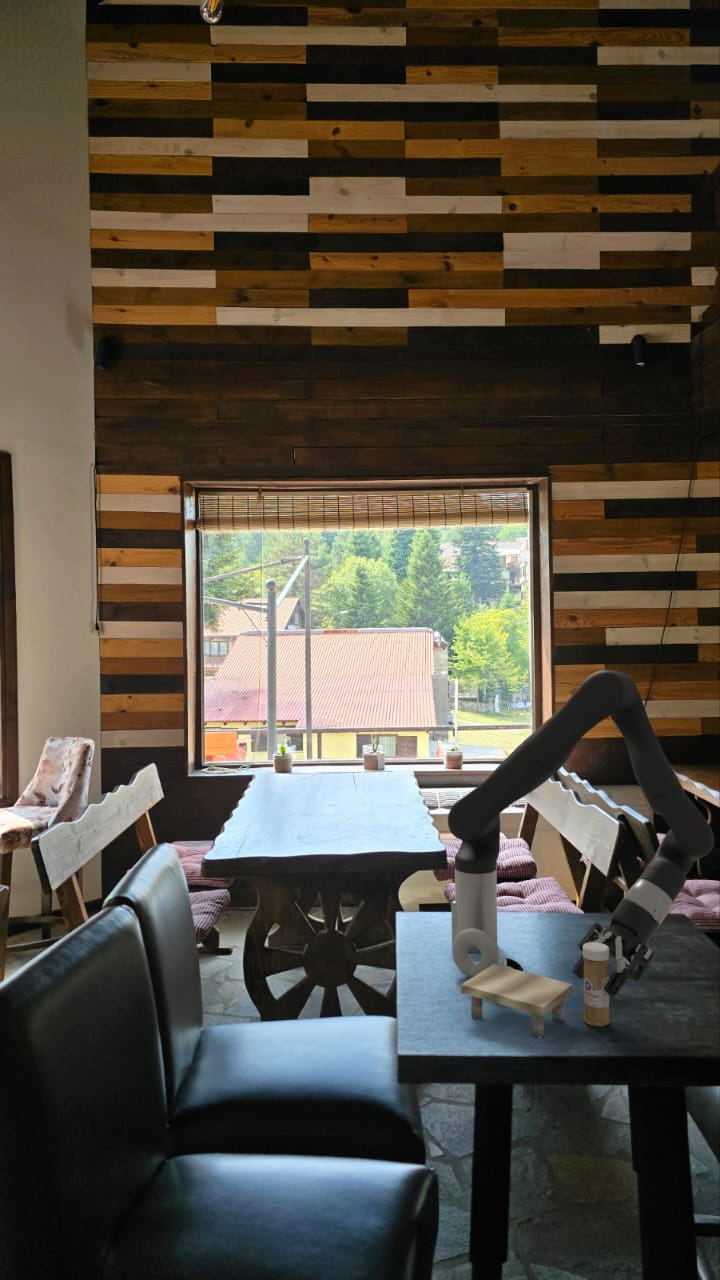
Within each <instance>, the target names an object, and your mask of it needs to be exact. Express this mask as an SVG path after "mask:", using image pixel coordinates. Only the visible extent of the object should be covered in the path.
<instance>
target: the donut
mask: <svg viewBox="0 0 720 1280" xmlns="http://www.w3.org/2000/svg"><path fill="white" fill-rule="evenodd" d="M470 946H476V947H477V948H479V950H480V951H481V953H480V954H481V959H480V961H475V960H474V959H472V957H471V956H470V954H469V952H468V950H469V947H470ZM451 952H452V953H451V954H452V959H453V962H454V964H455V966H456V967H457V969H458V970H459V972H460V973H462V974H463V975H464V976H465V977H468V978H469V979H471V978H472V977H474V976H476V975H477V974H479V973H480V972H482V971H484V970H485V969H487V968H488V967H490V966H492V965H493V964H495V965H499V959H500V956H499V949H498V946H497V947H496V944H495V942H494V941H493V940H492V938H491V937H490V936H489V935H488V934H486V933H485V932H484V931H482V930H479V929H476V928H469V929H466V930H463V931H461V932H460V933H459V934H458V935H457V936H456V938H455V940H454V942H453V945H452V948H451Z"/></svg>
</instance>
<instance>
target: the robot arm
mask: <svg viewBox="0 0 720 1280" xmlns="http://www.w3.org/2000/svg"><path fill="white" fill-rule="evenodd" d="M607 718H610V719H611V720H612V722H613V723H614V724H615V726H616V727H617V729H618V731H619V732H620V734H621V736H622V737H623V740H624V743H625V745H626V747H627V750H628V754H629V759H630V763H631V766H632V770H633V774H634V776H635V779H636V781H637V783H638V786H639V788H640V789H641V791H642V793H643V795H644V797H645V798H646V802H647V803H648V804H649V807H650V808H651V809H652V811H653V813H655V814H656V815H659V816H661V817H662V818H663V819H664V821H665V822H666V824H667V825H668V828H669V831H667V833H666V834H665V836H664V838H663V839H662V841H661V842H660V844H659V846H658V848H657V850H656V851H655V854H654V855H653V858H652V860H651V861H650V862H649V863H648V864H647V866H646V867H645V869H644V870H643V872H642V873H641V874H640V876H639V877H638V879H637V880H636V881H635V883H634V884H632V886H631V887H630V888H629V889H628V891H627V892H626V893H625V895H624V897H623V898H622V899H621V901H620V902H619V904H618V905H617V907H616V908H615V909H614V911H613V913H612V914H611V915H610V921H611V922H610V924H609V925H608V927H603V926H602V925H601V924H600V922H598V921H597V922H594V923H593V924H592V926H591V927H590V929H589V930H588V932H586V934H585V935H584V936H583V938H582V939H581V940H580V942H579V943H578V945H577V948H578V949H579V950H580V952H581V956H580V957H579V959H578V960H577V962H576V963H575V965H574V966H573V970H572V973H573V974H574V975H575V976H576V977H577V978H579V979H581V980H582V979H584V958H583V945H584V944H585V943H589V942H597V943H602V944H605V945H607V946H608V947H609V959H615V960H616V962H617V963H616V971H614V972H613V974H612V975H611V977H609V981H608V982H607V984H606V985H605V987H604V991H605V992H606V993H607V994H608V995H609V997H612V998H613V997H615V996H616V995H617V994H618V993H619V992H620V990H621V989H622V988H623V985H624V984H625V983H626V982H627V981H629V980H633V981H634V982H638V981H640V979H642V976H643V974H644V973H645V971H646V969H647V967H648V966H649V965H650V963H651V961H652V960H653V957H654V956H655V953H654V952H653V951H652V949H651V948H650V947H649V946H648V945H647V944H648V943H649V942H650V940H651V939H652V938H653V936H654V935H655V933H656V932H657V930H658V928H659V927H660V926H661V924H662V922H663V921H664V920H665V918H666V916H667V915H668V914H669V911H670V909H671V907H672V905H673V903H674V902H675V901H676V900H677V898H678V896H679V894H680V892H681V891H682V889H683V888H684V887H685V884H686V881H687V878H686V877H687V875H688V873H689V871H690V870H691V868H692V867H693V866H694V864H695V863H696V861H698V859H700V858H703V857H706V856H707V855H708V854H710V853H711V852H712V850H713V848H714V845H715V835H714V833H713V830H712V826H710V824H709V822H708V820H707V819H706V818H705V816H704V815H703V814H702V812H701V810H700V809H698V807H697V806H696V804H695V803H694V802H693V801H692V800H691V799H690V798H689V796H688V795H687V793H686V792H685V789H684V787H683V786H682V783H681V781H680V780H679V778H678V776H677V775H676V773H675V771H674V769H673V767H672V765H671V764H670V762H669V760H668V758H667V756H666V755H665V752H664V751H663V748H662V746H661V744H660V742H659V740H658V737H657V735H656V734H655V731H654V728H653V726H652V724H651V722H650V718H649V715H648V713H647V711H646V708H645V705H644V701H643V698H642V695H641V693H640V690H639V688H638V686H637V683H636V681H635V680H634V679H633V678H632V677H631V676H630V675H628V674H627V673H624V672H622V671H617V670H610V669H608V670H607V669H604V670H603V669H601V670H598V671H595V672H594V673H591V674H590V675H589V676H588V677H587V678H586V679H585V680H584V681H582V683H581V685H579V687H578V688H577V689H576V690H575V692H574V693H573V694H572V695H571V696H570V698H569V699H567V701H566V702H565V703H564V704H563V705H562V707H561V708H560V709H558V710H557V711H556V712H555V713H554V714H553V715H552V716H550V717H549V718H548V719H547V720H545V722H544V723H542V724H541V725H540V726H539V727H538V728H537V729H536V730H535V731H533V733H531V734H530V735H529V736H528V737H527V738H525V739H524V740H523V741H522V742H521V743H520V744H519V745H518V746H517V747H516V748H515V749H514V750H513V751H512V752H511V753H510V754H508V756H507V757H506V758H505V759H504V760H503V761H502V762H501V763H500V764H499V765H498V766H497V767H496V768H495V769H494V770H493V772H492V773H491V774H490V775H489V776H488V777H487V778H486V779H485V780H484V781H482V783H480V784H479V785H478V786H476V788H474V789H472V791H470V792H468V793H467V794H466V795H465V796H463V797H461V798H460V799H459V800H457V801H456V802H455V803H454V804H453V805H452V806H451V807H450V810H449V813H448V817H447V826H448V830H449V832H450V833H451V835H452V836H454V837H455V838H456V839H458V840H461V845H460V847H459V849H458V851H457V852H456V854H455V857H454V899H455V900H453V901H452V902H451V945H452V946H453V942H454V940H455V938H456V936H457V935H458V934H459V933H460V932H461V931H463V930H466V929H469V928H476V929H479V930H482V931H484V932H485V933H486V934H488V935H489V936H490V937H491V938H492V940H493V941H494V942H495V944H496V947H497V948H498V897H497V896H498V895H497V894H498V892H497V889H498V887H497V883H498V882H497V862H498V858H499V856H500V850H501V849H500V848H501V847H500V845H501V841H500V840H501V815H500V814H501V813H502V812H503V811H505V810H506V809H507V808H508V807H509V806H511V805H513V804H514V803H516V802H517V801H519V800H521V799H522V798H524V797H525V796H527V795H529V794H530V793H532V792H533V791H535V790H537V788H539V787H540V786H542V785H543V784H544V783H546V782H547V781H548V780H550V779H551V777H552V776H553V775H555V774H556V773H557V772H558V771H559V770H560V769H561V768H562V767H563V766H565V764H566V762H567V761H568V760H569V758H570V757H571V756H572V753H573V752H574V750H575V749H576V747H577V745H578V744H579V743H580V740H581V739H583V737H584V736H585V735H586V734H587V733H589V732H590V731H591V730H593V728H595V727H596V726H597V725H599V723H601V722H603V721H604V720H605V719H607ZM468 952H470V953H478V954H479V953H480V954H481V951H480V950H479V948H477V947H476V946H470V947H469V950H468Z"/></svg>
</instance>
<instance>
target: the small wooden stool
mask: <svg viewBox="0 0 720 1280" xmlns="http://www.w3.org/2000/svg"><path fill="white" fill-rule="evenodd" d="M460 987H461V988H460V991H461V992H460V993H461V994H464V995H466V996H470V1007H471V1009H470V1012H471V1013H470V1014H471V1015H470V1016H471V1019H473V1020H482V1019H483V1014H484V1013H483V1000H484V1001H488V1002H492V1003H493V1004H496V1005H501V1006H506V1007H508V1008H513V1009H516V1010H519V1011H522V1012H526V1013H529V1014H530V1013H531V1036H532V1035H533V1036H534V1037H533V1036H532V1037H533V1038H535V1037H537V1038H536V1039H540V1038H539V1037H543V1036H544V1037H545V1016H546V1015H547V1014H548V1013H550V1012H551V1011H552V1012H551V1017H552V1020H553V1021H556V1022H563V1021H564V1020H565V1018H564V1017H565V1012H564V1009H565V1008H564V1007H565V1003H564V1001H565V1000H566V999H567V998H568V997H569V996H571V995H572V994H573V993H574V984H573V983H570V982H565V981H562V980H558V979H554V978H550V977H545V976H542V975H538V974H534V973H530V972H526V971H519V970H515V969H513V968H511V967H508V966H507V967H503V966H500V964H498V965H495V964H493V965H492V966H490V967H488V968H487V969H485V970H484V971H482V972H480V973H479V974H477V975H476V976H474V977H472V978H469V979H467V980H466V981H465V982H463V983H462V984H461V985H460ZM544 1037H543V1038H544Z"/></svg>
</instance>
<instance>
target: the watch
mask: <svg viewBox="0 0 720 1280" xmlns="http://www.w3.org/2000/svg"><path fill="white" fill-rule="evenodd" d="M499 966H503V967H507V968H511V969H515V970H519V971H523V972H525V971H524V967H522V965H521V964H520V963H518V961H516V960H514V959H512V958H508V957H503V958H502V959H501V961H500V964H499Z"/></svg>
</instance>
